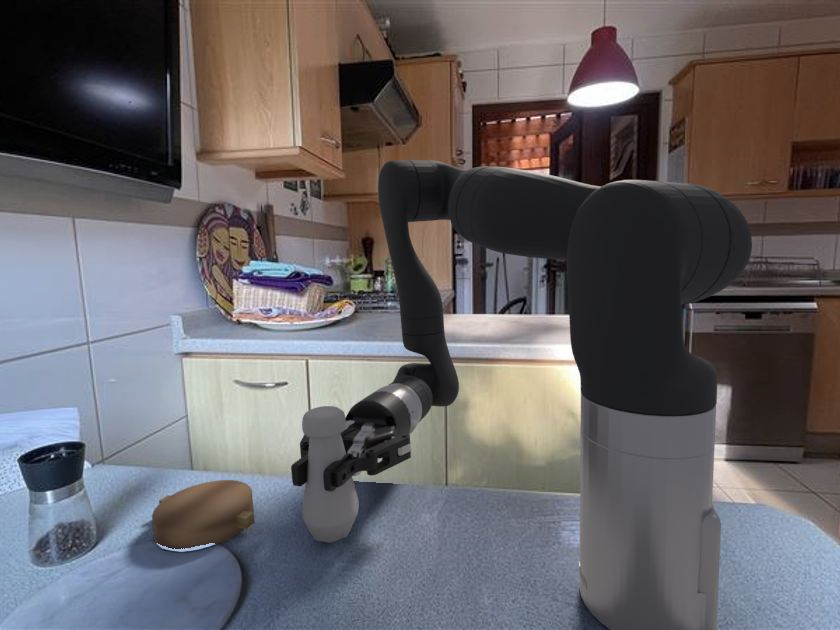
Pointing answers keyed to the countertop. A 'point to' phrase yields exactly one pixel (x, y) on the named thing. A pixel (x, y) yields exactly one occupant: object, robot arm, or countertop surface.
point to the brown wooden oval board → (203, 514)
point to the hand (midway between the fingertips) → (311, 479)
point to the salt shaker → (321, 508)
